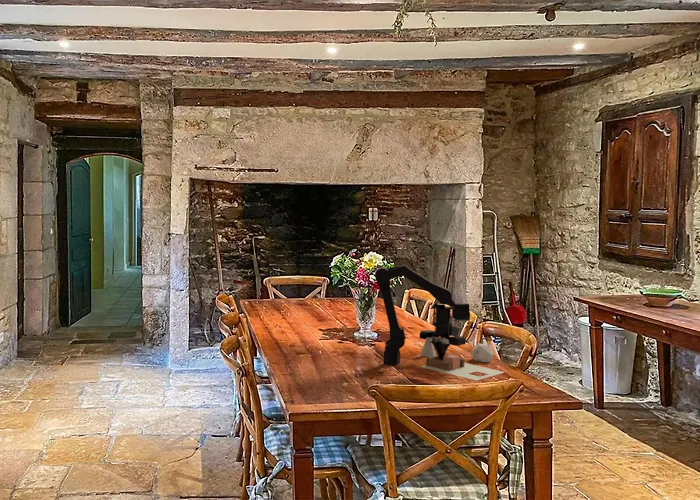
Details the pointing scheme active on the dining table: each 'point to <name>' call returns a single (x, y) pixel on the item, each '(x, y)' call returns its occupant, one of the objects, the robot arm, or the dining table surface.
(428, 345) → the flask
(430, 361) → the cubby
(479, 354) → the die
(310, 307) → the dining table surface
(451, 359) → the block
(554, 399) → the dining table surface
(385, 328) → the dining table surface
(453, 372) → the board
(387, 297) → the robot arm
